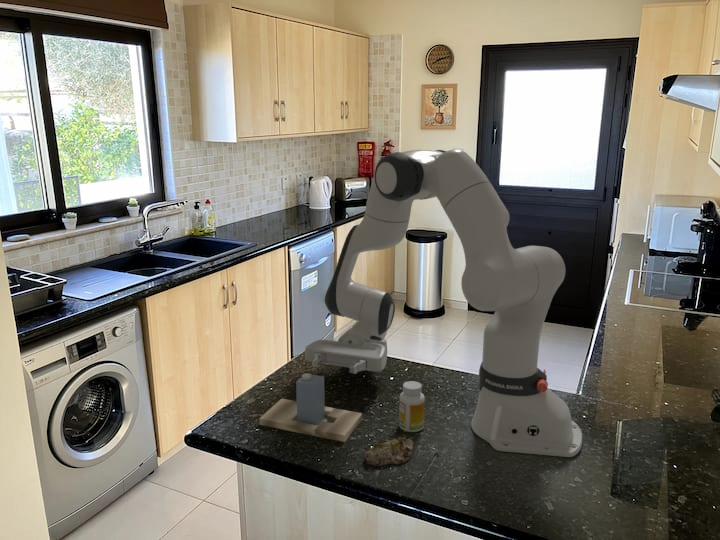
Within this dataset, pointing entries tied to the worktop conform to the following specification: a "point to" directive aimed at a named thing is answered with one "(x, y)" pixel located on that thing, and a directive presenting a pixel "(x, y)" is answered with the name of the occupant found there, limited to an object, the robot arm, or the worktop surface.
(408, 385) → the supplement bottle
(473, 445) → the worktop surface
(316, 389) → the block
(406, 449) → the mineral rock
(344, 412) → the board
